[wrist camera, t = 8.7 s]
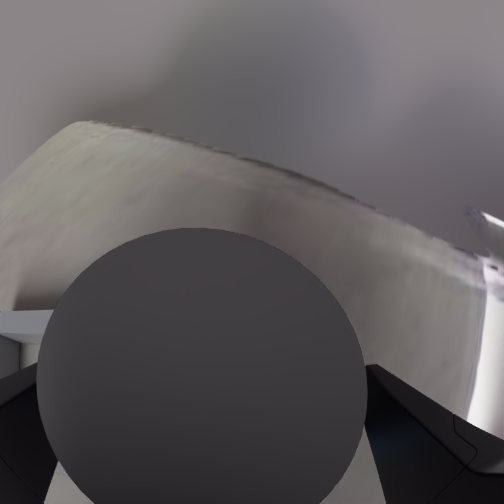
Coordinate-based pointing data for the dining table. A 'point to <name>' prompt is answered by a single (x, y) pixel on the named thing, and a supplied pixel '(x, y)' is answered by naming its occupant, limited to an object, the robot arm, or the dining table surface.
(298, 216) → the dining table surface
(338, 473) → the plug
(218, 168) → the dining table surface
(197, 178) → the dining table surface
